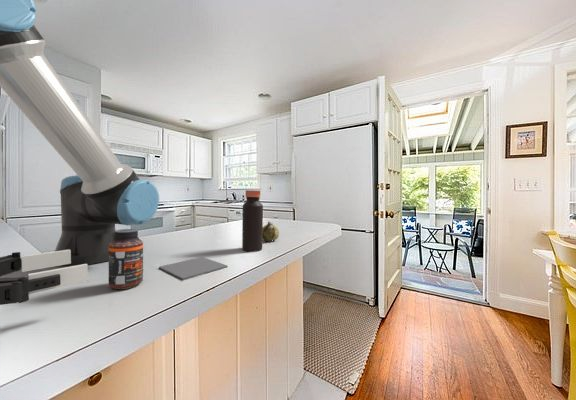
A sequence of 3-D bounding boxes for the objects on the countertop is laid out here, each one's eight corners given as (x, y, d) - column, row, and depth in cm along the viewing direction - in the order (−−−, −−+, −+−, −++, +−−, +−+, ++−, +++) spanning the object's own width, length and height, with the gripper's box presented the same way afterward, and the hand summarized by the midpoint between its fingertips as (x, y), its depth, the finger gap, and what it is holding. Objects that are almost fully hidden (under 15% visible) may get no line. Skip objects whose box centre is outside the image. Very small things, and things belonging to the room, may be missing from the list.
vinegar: (238, 249, 81) (238, 190, 80) (253, 245, 86) (253, 190, 85) (251, 253, 76) (252, 190, 76) (266, 249, 82) (267, 190, 81)
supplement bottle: (126, 291, 46) (125, 233, 46) (100, 288, 47) (99, 231, 47) (149, 280, 52) (149, 228, 52) (126, 277, 53) (126, 227, 53)
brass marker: (110, 285, 49) (110, 284, 49) (134, 279, 53) (134, 278, 53) (117, 291, 47) (117, 290, 47) (142, 284, 50) (142, 283, 50)
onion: (283, 240, 96) (284, 221, 95) (269, 244, 90) (269, 222, 89) (270, 238, 101) (270, 219, 100) (255, 240, 95) (256, 220, 94)
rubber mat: (159, 268, 60) (159, 266, 60) (202, 258, 70) (202, 256, 70) (182, 280, 53) (182, 278, 53) (227, 267, 62) (227, 265, 62)
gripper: (-132, 304, 35) (65, 268, 51) (-234, 402, 19) (97, 305, 36) (-135, 253, 35) (64, 234, 51) (-241, 311, 19) (96, 256, 35)
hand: (78, 263), depth 43 cm, fingers open, 13 cm apart
